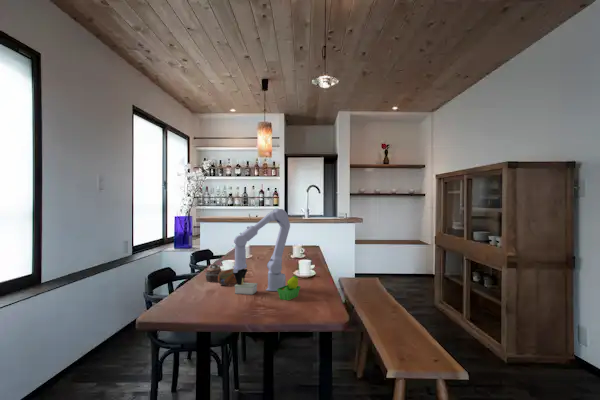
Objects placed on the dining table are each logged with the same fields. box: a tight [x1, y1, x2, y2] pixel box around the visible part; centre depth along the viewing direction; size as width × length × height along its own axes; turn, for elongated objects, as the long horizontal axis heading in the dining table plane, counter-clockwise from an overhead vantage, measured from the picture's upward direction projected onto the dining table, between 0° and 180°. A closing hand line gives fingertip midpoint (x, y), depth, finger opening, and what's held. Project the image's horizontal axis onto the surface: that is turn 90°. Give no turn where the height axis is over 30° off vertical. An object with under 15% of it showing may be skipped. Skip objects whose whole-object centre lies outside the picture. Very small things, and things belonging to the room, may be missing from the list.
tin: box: [218, 268, 237, 286], centre depth 208 cm, size 15×3×8 cm, turn 143°
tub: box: [234, 285, 258, 296], centre depth 188 cm, size 10×7×4 cm
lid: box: [234, 278, 258, 288], centre depth 188 cm, size 10×7×5 cm
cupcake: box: [204, 263, 222, 283], centre depth 215 cm, size 10×10×10 cm
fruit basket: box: [276, 275, 301, 301], centre depth 178 cm, size 11×9×11 cm
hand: (240, 283), depth 188 cm, fingers closed on lid, 3 cm apart
